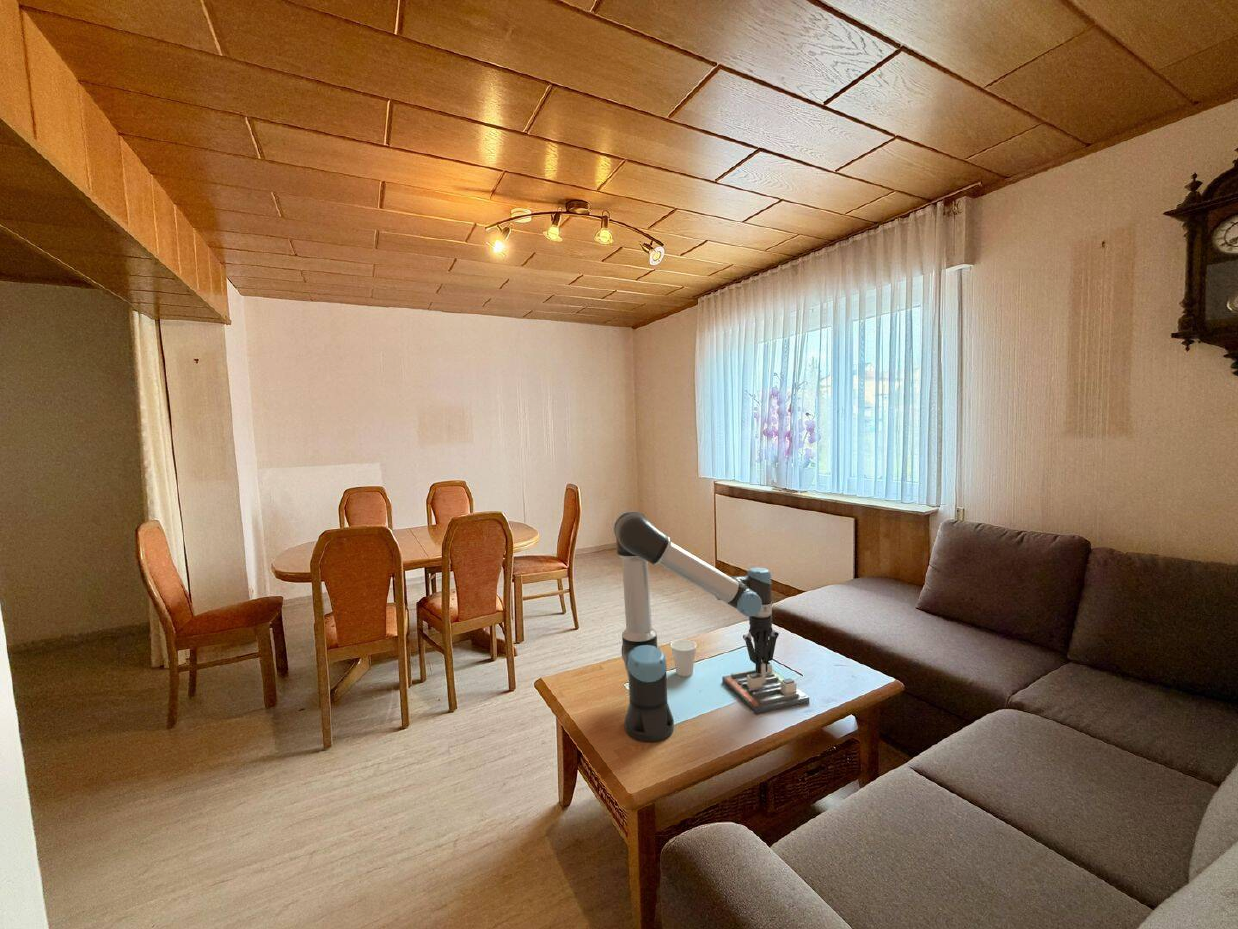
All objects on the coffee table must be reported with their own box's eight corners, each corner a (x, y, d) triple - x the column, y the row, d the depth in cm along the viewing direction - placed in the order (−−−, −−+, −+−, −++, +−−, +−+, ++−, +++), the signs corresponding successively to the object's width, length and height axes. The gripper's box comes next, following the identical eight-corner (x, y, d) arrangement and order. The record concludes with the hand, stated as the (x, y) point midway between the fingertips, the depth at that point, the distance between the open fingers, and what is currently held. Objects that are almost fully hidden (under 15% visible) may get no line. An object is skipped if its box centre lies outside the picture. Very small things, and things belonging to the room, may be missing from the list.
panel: (755, 714, 154) (755, 705, 154) (722, 682, 175) (722, 673, 175) (809, 703, 159) (809, 693, 159) (770, 673, 181) (770, 664, 180)
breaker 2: (762, 677, 173) (762, 665, 173) (757, 673, 176) (757, 661, 176) (772, 675, 174) (772, 663, 174) (767, 671, 177) (767, 659, 177)
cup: (697, 680, 177) (696, 651, 177) (670, 679, 179) (669, 649, 179) (698, 668, 187) (697, 640, 186) (672, 666, 189) (671, 638, 188)
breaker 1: (752, 691, 164) (751, 678, 164) (747, 686, 167) (747, 674, 167) (762, 689, 165) (762, 676, 165) (757, 684, 168) (757, 672, 168)
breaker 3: (786, 696, 160) (785, 683, 160) (780, 692, 163) (780, 679, 163) (796, 694, 161) (796, 681, 161) (791, 690, 164) (790, 677, 164)
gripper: (749, 620, 160) (750, 689, 162) (783, 615, 164) (784, 683, 165) (737, 612, 168) (739, 679, 169) (770, 607, 171) (771, 673, 172)
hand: (761, 681), depth 167 cm, fingers closed
